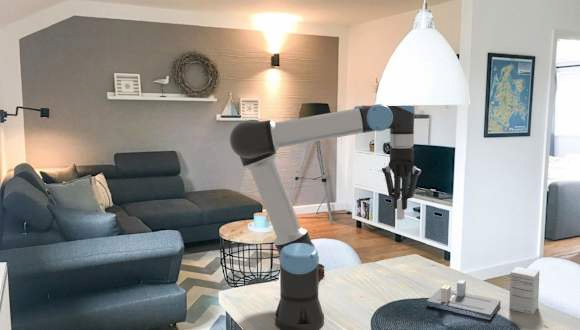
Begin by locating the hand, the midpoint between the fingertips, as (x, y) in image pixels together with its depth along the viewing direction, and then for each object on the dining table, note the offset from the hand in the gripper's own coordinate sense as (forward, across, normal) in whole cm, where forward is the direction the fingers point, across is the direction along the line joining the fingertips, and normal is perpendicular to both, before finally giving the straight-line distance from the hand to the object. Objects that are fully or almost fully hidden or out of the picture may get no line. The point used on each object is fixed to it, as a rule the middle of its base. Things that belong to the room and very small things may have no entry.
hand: (400, 218), depth 158 cm
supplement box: (+30, -35, -20) cm, 50 cm away
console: (+29, -18, -11) cm, 36 cm away
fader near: (+27, -13, -7) cm, 31 cm away
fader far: (+27, -16, -15) cm, 35 cm away
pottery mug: (+30, +36, -5) cm, 47 cm away
